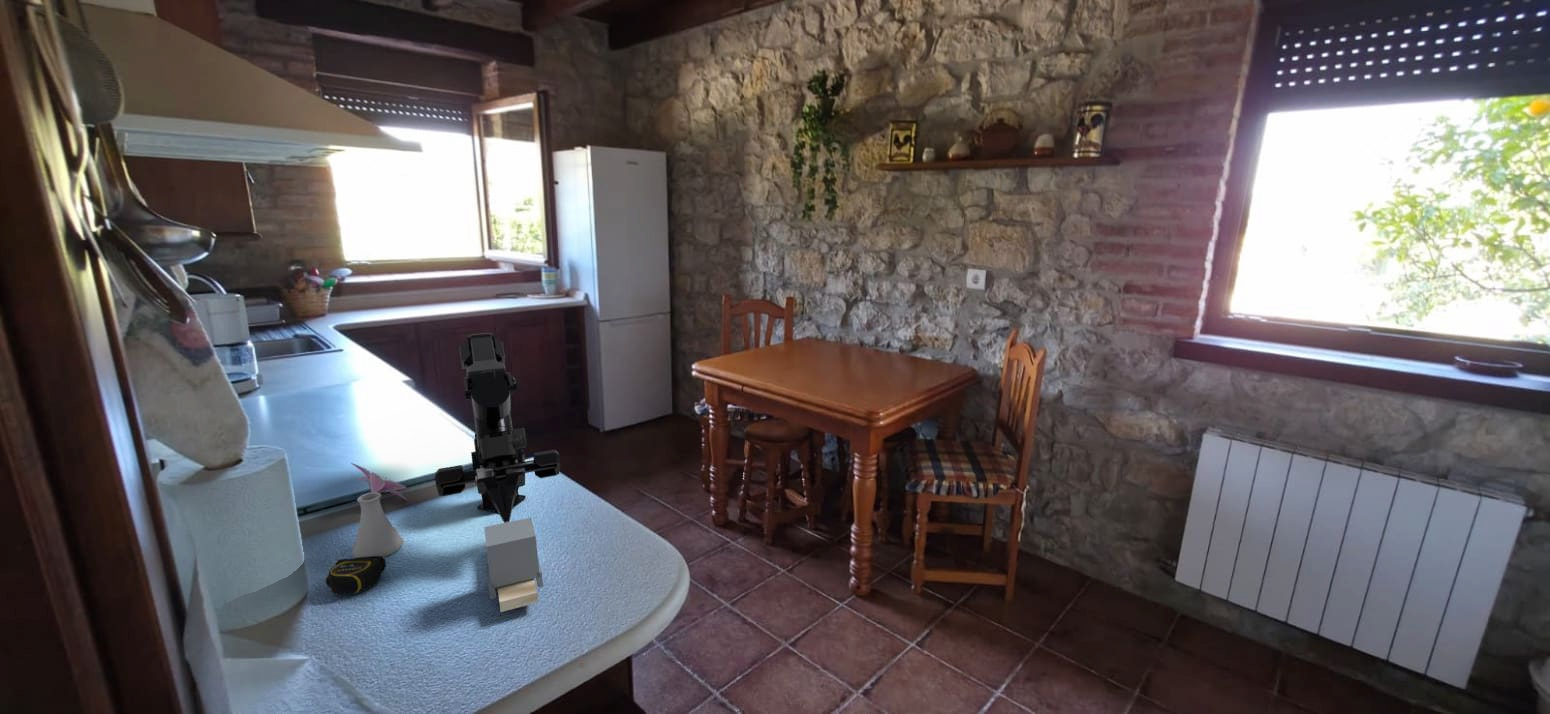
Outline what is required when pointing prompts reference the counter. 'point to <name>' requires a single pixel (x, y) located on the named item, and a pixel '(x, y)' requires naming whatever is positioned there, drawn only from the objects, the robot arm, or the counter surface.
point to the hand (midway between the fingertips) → (506, 521)
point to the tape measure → (355, 574)
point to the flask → (374, 530)
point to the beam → (517, 595)
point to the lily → (380, 483)
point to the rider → (511, 554)
